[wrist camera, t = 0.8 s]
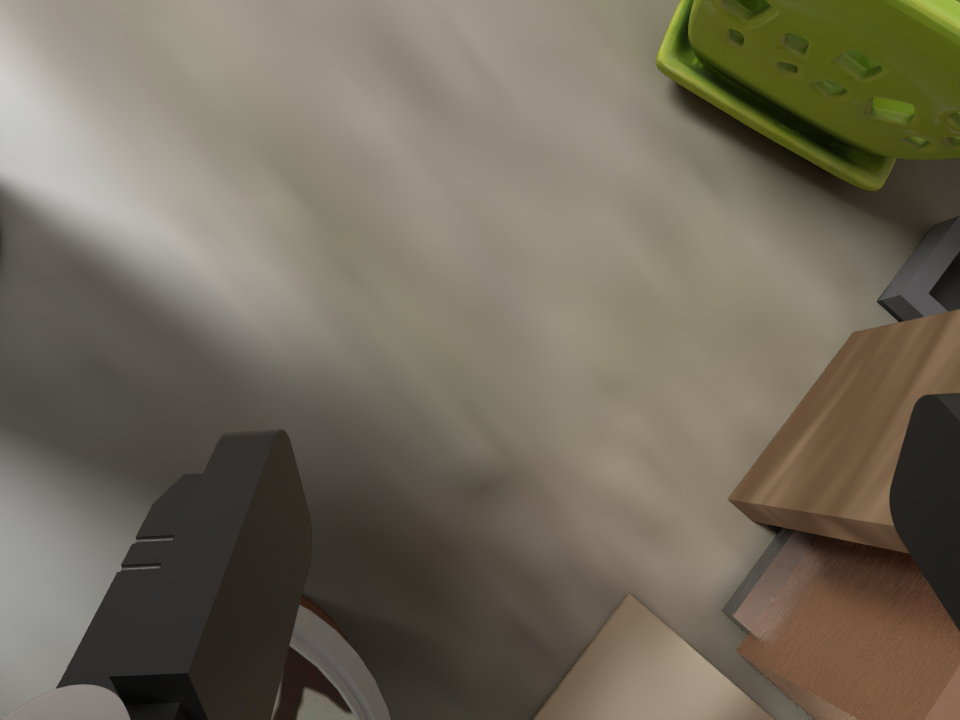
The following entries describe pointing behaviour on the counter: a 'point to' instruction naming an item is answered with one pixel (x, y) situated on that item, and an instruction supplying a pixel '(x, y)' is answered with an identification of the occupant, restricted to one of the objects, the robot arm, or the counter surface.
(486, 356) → the counter surface
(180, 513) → the robot arm
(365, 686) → the food container
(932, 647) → the tall wood-grain block
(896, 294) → the pit tray
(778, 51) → the flower pot
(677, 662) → the pad
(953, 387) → the tunnel
